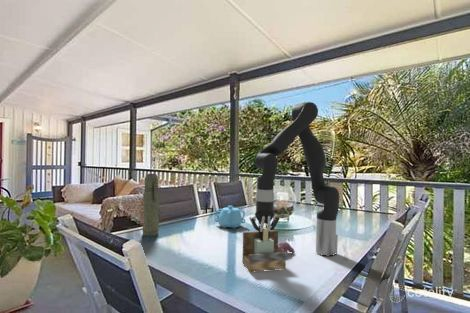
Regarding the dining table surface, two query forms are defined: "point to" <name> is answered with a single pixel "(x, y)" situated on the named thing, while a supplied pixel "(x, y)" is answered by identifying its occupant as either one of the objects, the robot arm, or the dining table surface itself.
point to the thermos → (151, 206)
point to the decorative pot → (230, 217)
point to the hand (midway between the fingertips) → (264, 239)
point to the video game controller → (285, 247)
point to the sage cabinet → (264, 243)
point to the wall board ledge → (262, 254)
